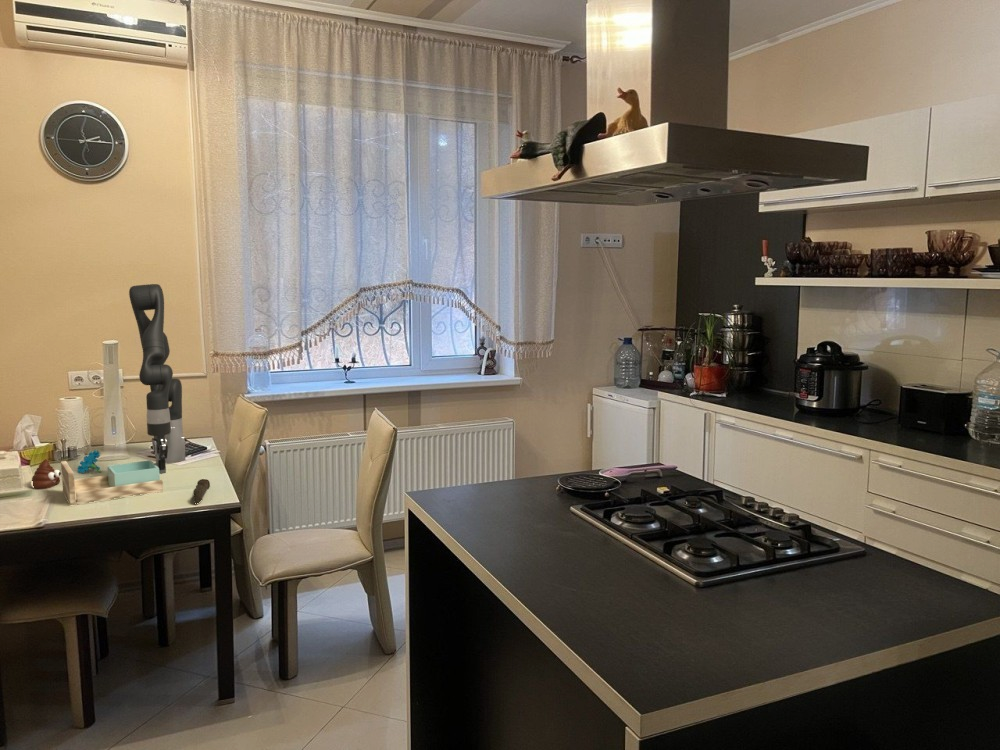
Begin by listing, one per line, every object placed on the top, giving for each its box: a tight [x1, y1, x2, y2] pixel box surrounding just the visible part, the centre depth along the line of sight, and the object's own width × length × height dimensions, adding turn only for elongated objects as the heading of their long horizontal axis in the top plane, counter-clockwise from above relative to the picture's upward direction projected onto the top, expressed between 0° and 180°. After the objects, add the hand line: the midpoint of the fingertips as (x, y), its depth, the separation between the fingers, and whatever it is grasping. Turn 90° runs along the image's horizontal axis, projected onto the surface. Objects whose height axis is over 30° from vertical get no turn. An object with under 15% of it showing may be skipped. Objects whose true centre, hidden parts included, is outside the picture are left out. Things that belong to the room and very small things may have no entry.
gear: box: [76, 450, 102, 474], centre depth 283 cm, size 11×6×10 cm
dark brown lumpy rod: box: [193, 478, 211, 505], centre depth 253 cm, size 19×4×5 cm, turn 12°
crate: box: [106, 453, 167, 487], centre depth 261 cm, size 18×13×10 cm
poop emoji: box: [31, 459, 62, 490], centre depth 263 cm, size 10×8×9 cm
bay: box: [60, 460, 164, 506], centre depth 256 cm, size 28×18×11 cm, turn 127°
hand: (161, 468), depth 265 cm, fingers closed on crate, 3 cm apart
